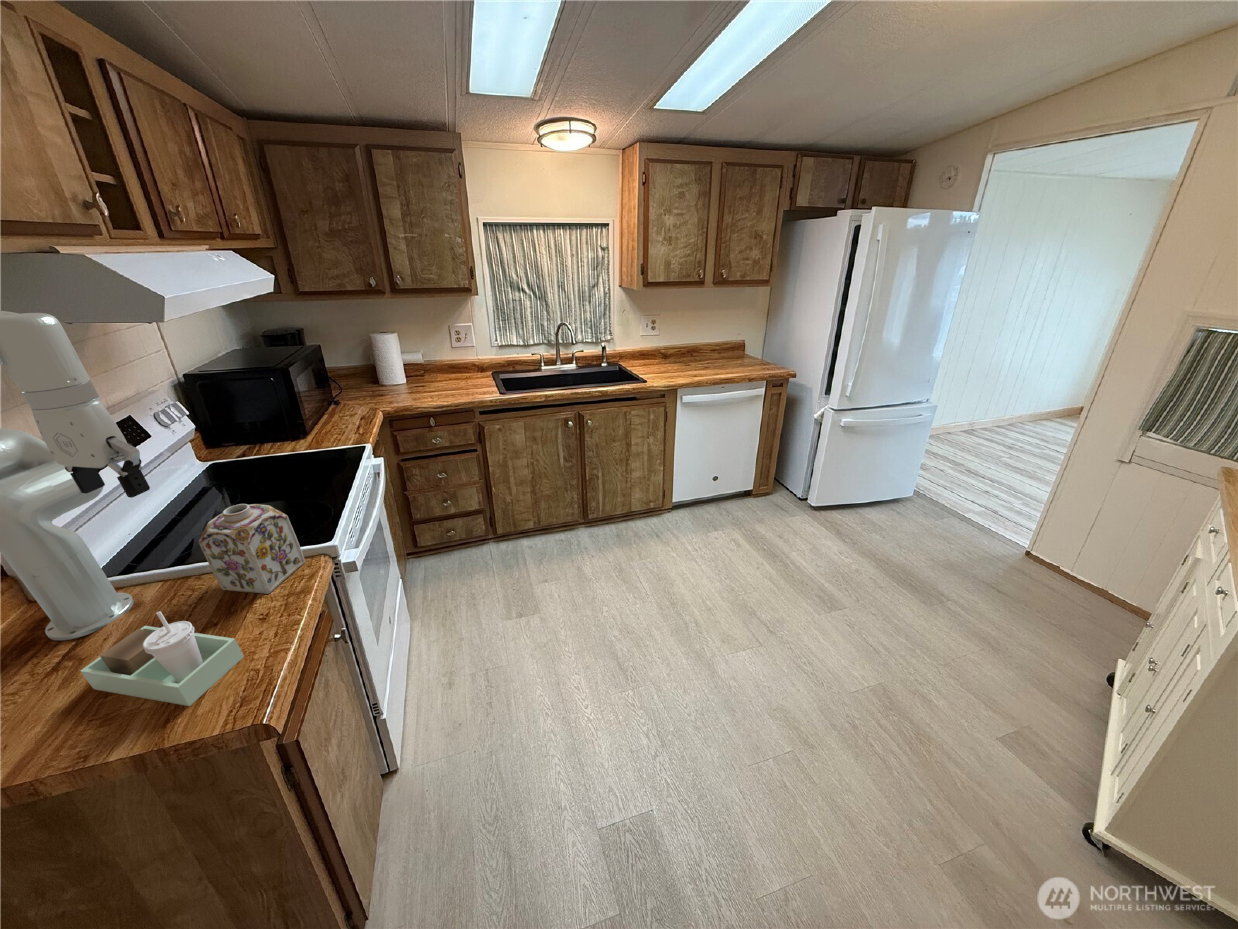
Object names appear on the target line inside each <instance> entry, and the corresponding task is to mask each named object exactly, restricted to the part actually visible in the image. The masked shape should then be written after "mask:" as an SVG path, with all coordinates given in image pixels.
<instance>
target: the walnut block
mask: <svg viewBox="0 0 1238 929" xmlns="http://www.w3.org/2000/svg"><path fill="white" fill-rule="evenodd" d="M153 632H154V631H148V630H141V628H137V629H136V630H134V631H132V633H130V634H128V635H127V636H126V637H124V638H122V640H120V641H118V642H117V643H116V644H114V645H113V646H111V647H109V649H107V650H106V651H104V652H103V653H101V654H100V655H99V657H101V658H102V660H103V661H104V662H105V664H106V665H107V667H108V668H109V670H110V671H111V672H112V673H117V674H123V675H129V676H131V675H132V674H133V673H135V672H136V671H137V670H138V669H140V668H141V667H142V666H144V665H145V664H146V663H148V662H149V661H150V660H152V659H153V658H154V656H153V655H152V654H148V653H146V652H145V649H144V648H143V642H144V641H145V639H146V638H147V637H148V636H149V635H150V634H152V633H153Z"/></svg>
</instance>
